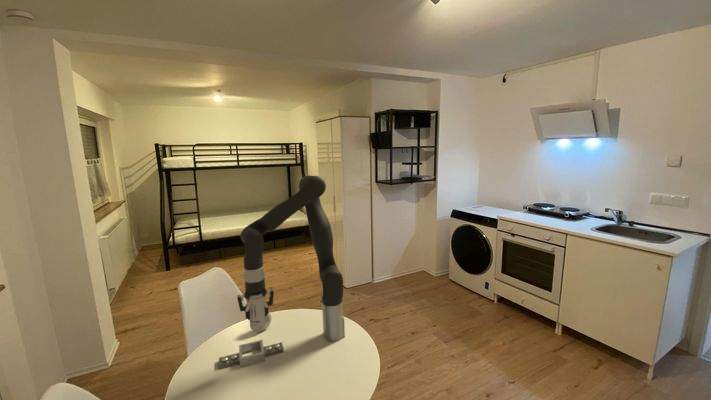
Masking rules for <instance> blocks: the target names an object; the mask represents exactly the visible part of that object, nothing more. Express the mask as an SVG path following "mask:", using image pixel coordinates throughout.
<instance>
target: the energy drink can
mask: <svg viewBox="0 0 711 400" xmlns="http://www.w3.org/2000/svg"><path fill="white" fill-rule="evenodd" d="M260 295H261V296H262V297H261V296H260ZM251 297H252V298H251ZM264 298H265V297H264V296H263V295H262V293H261V294H256V295H250V298H249V301H250V307H249V316H250V320H249V327H250V329H251V330H252V331H253V332H262V331H261V330H263V329H264V327H265V325H266V319H265V306H264V303H263V299H264ZM250 299H251V300H250ZM247 301H248V300H247ZM249 301H248V303H249Z"/></svg>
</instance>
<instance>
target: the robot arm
mask: <svg viewBox="0 0 711 400" xmlns="http://www.w3.org/2000/svg"><path fill="white" fill-rule="evenodd" d="M326 188H327V184H326V181H325V180H324V179H323V178H322V177H321V176H317V175H305V176H303V177H302V178H301V179H300V181H299V184H298V189H299V190H298V191H297V192H296V193H294V195H292V196H291V197H289V198H287V199H286V200H283V201H282V202H280V203H279V204H277V205H276V206H274V207H272V208H271V209H270V210H269V211H267V212H266V213H265V214H264V215H262V216H261V217H260V218H259V219H256V220H255V221H253V222H251V223H250V224H248V225H247V226H245V227H244V228H243V230H242V231H241V232H240V240H241V241H242V243H243V244H244V251H245V253H244V254H243V269H244V271H243V281H244V291H245V292H244V294H241V295H240V294H238V295H237V296H236V297H237V303H238V308H239V310H240V312H245V315H244V316H245V319H246V320H247V321H250V316H249V307H250V301H249V298H250V295H256V294H261V293H262V295H263V296H264V299H263V303H264V306H265V316H267V314H269V312H270V310H269V307H270V306H273V305H274V295H275V294H274V289H273V288H270V289H266V280H265V279H266V278H265V276H266V275H265V268H264V257H263V251H264V243H265V242H264V235H265V234H267V233H271V232H274V231H275V230H276V229H277V228H279V227H280V226H281V225H283V223H284V222H286V221H287V220H288V219H289V218H291V217H292V216H293V215H294V214H296V213H298V211H300V210H301V209H303V208H305V212H306V218H307V223H308V227H309V233H310V237H311V242H312V245H313V248H314V252H315V255H316V256H317V263H318V272H319V278H320V279H319V280H320V281H321V284H322V296H321V309H322V330H323V331H322V332H323V333H322V334H323V339H324V340H326V341H327V342H338V341H341V340H342V339H343V338H345V337H346V333H345V330H346V329H345V327H346V326H345V317H344V314H343V310H344V309H343V298H344V277H343V274H342V273H341V271H340V269H339V268H338V267H337V263H336V260H335V257H334V237H333V232H332V231H333V230H332V226H331V223H330V221H329V218H328V216H327V215H326V212H325V211H324V208H323V206H322V203H321V198H320V197H321V196H323V195H324V194H325V192H326ZM266 295H268V296H269V297H268V301H267V300H266V298H265V297H266ZM260 296H261V295H260ZM261 297H262V296H261ZM251 298H252V297H251ZM244 299H246V304H245V306H244V305H243V302H244ZM250 300H251V299H250ZM248 301H249V303H248Z"/></svg>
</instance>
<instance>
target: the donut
mask: <svg viewBox="0 0 711 400" xmlns="http://www.w3.org/2000/svg"><path fill="white" fill-rule="evenodd" d="M265 319H266V325H265V327H264V329H263V330H261V331H260V332H263V331H265V330H267V329H268V328H269V327H270V324H271V322H272V314H271V312H270V311H269V314H267V316H265Z"/></svg>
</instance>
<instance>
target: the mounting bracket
mask: <svg viewBox="0 0 711 400" xmlns="http://www.w3.org/2000/svg"><path fill="white" fill-rule="evenodd" d="M263 341H264V340H263V339H260V340H255V341H252V342H247V343H242V344H238V345H239V346H238V348H239V349H238V351H239V352H236V353H233V354H230V355H229V354H228V355H225V356H222V357H218V370H221V369H224V368H229V367H233V366H236V365H239V366H240V368H243V367H246V366H250V365H253V364H257V363H260V362H264V361H266V358H267V357H270V356H274V355H278V354H283V353H285V350H284V346H283V342H278V343H273V344H270V345H266V346H264V342H263ZM257 350H260V352H257V353H253V354H248V355H246V356H243V354H246V353H249V352H253V351H257Z"/></svg>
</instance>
